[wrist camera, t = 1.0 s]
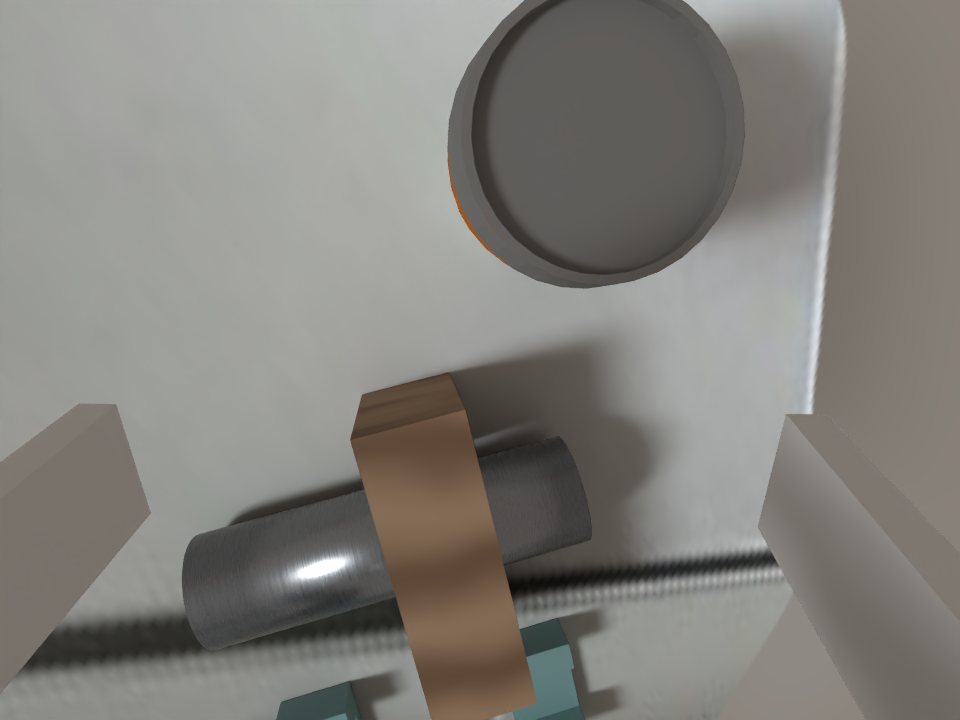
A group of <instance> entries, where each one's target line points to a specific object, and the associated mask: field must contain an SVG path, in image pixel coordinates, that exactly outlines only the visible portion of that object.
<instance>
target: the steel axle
mask: <svg viewBox="0 0 960 720" xmlns="http://www.w3.org/2000/svg"><path fill="white" fill-rule="evenodd" d="M477 459H478V463H479V467H480V471H481V475H482V479H483V483H484V487H485V491H486V495H487V500H488V504H489V508H490V512H491V516H492V520H493V524H494V528H495V532H496V536H497V540H498V544H499V548H500V552H501V556H502V560H503V565H507V564H510V563H514V562H517V561H520V560H524V559H527V558H531V557H534V556H537V555H541V554H544V553H548V552H551V551H555V550H558V549H561V548H565V547H568V546H572V545H575V544H578V543H582V542H585V541H589V540H590V539H591V535H592V528H591V519H590V513H589V508H588V504H587V500H586V496H585V492H584V489H583V486H582V482H581V479H580V476H579V473H578V471H577V468H576V465H575V463H574V461H573V458H572V456H571V454H570V452H569V450H568V448H567V446H566V444H565V443H564V441H563V440H562V439H561V438H560V437H558V436H557V437H553V438H550V439H546V440H542V441H539V442H535V443H531V444H528V445H524V446H520V447H517V448H513V449H509V450H506V451H502V452H498V453H495V454H491V455H487V456H484V457H480V458H477ZM182 589H183V599H184V605H185V610H186V613H187V617H188V620H189V623H190V626H191V628H192V631H193V632H194V634H195V636H196V638H197V639H198V641H199V642H200V643H201V644H202V645H203V646H204V647H205V648H207V649H209V650H216V649H220V648H223V647H226V646H230V645H233V644H237V643H240V642H244V641H247V640H250V639H254V638H257V637H261V636H264V635H267V634H271V633H274V632H278V631H281V630H285V629H288V628H291V627H295V626H298V625H302V624H305V623H308V622H312V621H315V620H319V619H322V618H326V617H329V616H332V615H336V614H339V613H343V612H346V611H349V610H353V609H356V608H360V607H363V606H367V605H370V604H373V603H377V602H380V601H384V600H387V599H390V598H394V597H396V595H395V592H394V589H393V585H392V582H391V578H390V575H389V571H388V568H387V564H386V561H385V558H384V554H383V551H382V547H381V544H380V540H379V537H378V534H377V530H376V527H375V523H374V520H373V516H372V513H371V510H370V506H369V503H368V499H367V496H366V492H365V489H363V490H359V491H356V492H352V493H348V494H345V495H341V496H337V497H334V498H330V499H326V500H323V501H319V502H315V503H312V504H308V505H304V506H301V507H297V508H294V509H290V510H286V511H283V512H279V513H275V514H272V515H268V516H264V517H261V518H257V519H253V520H250V521H246V522H242V523H239V524H235V525H231V526H228V527H224V528H220V529H217V530H213V531H209V532H206V533H202V534H199V535H196V536H195V537H194V538H193V539H192V540H191V541H190V543H189V545H188V547H187V549H186V553H185V556H184V561H183V569H182Z"/></svg>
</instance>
